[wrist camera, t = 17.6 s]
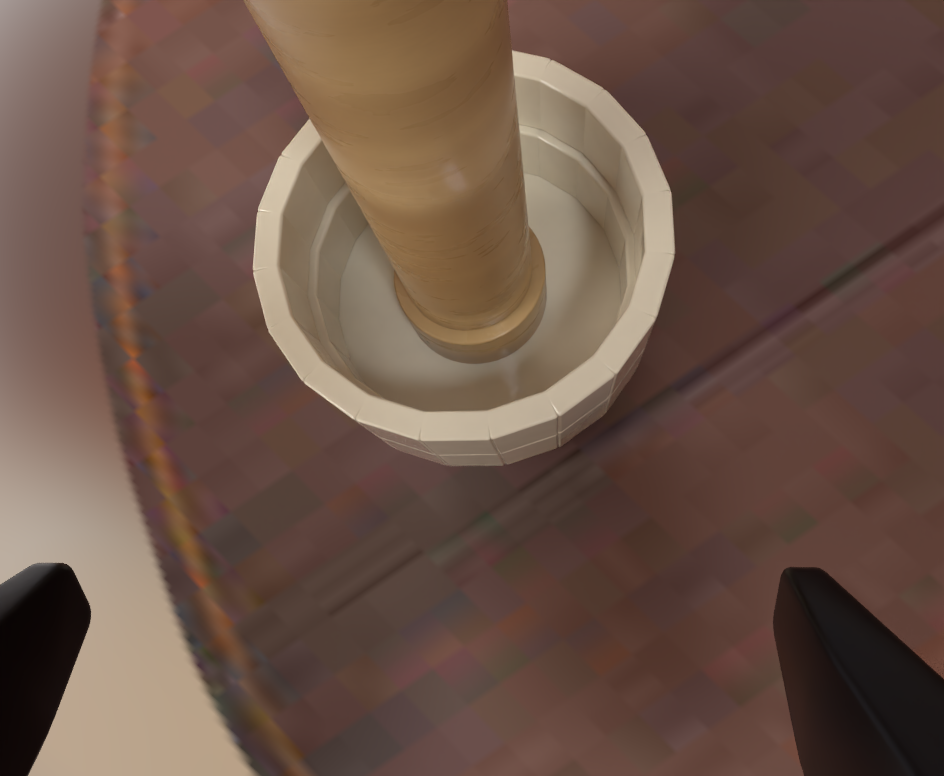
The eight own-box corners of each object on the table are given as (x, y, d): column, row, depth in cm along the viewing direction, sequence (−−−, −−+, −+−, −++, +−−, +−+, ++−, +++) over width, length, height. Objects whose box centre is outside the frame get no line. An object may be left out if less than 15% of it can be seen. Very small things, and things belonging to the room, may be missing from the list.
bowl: (518, 540, 19) (505, 531, 14) (254, 345, 21) (171, 285, 16) (715, 260, 20) (760, 173, 15) (446, 100, 22) (417, -18, 17)
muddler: (571, 324, 19) (597, -274, 5) (443, 388, 19) (152, -53, 5) (508, 209, 20) (396, -547, 6) (386, 270, 20) (14, -356, 6)
